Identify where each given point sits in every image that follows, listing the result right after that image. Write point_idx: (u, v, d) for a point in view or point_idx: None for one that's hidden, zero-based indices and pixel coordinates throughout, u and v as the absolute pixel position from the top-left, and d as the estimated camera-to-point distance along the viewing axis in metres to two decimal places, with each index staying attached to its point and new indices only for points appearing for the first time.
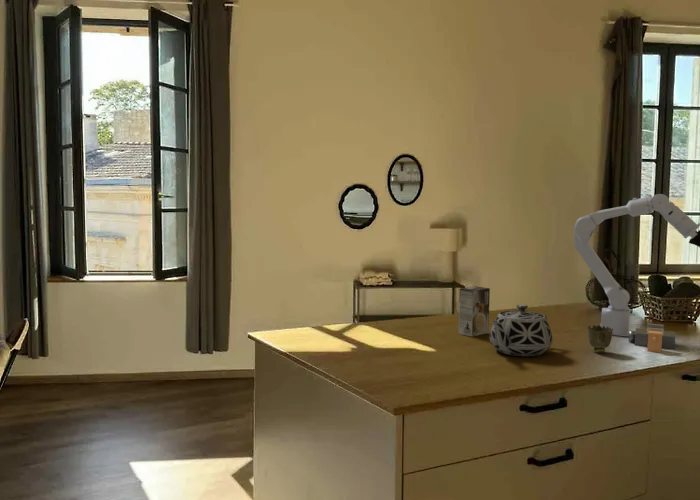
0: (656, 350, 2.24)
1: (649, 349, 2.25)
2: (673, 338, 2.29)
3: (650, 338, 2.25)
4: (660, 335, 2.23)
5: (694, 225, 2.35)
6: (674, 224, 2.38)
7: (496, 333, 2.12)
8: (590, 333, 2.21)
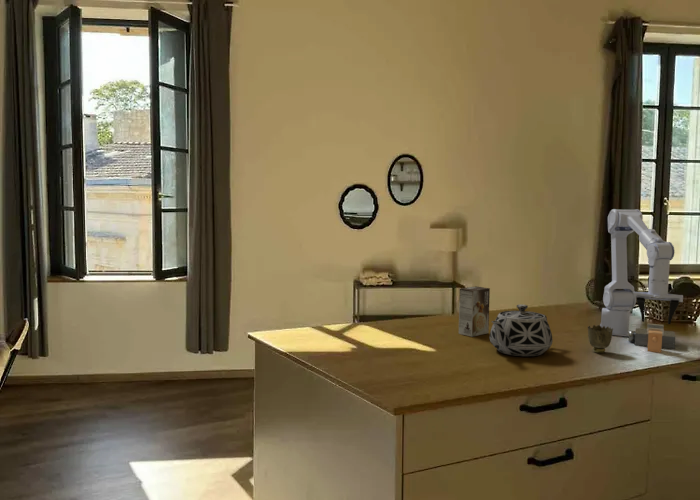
0: (656, 350, 2.24)
1: (649, 349, 2.25)
2: (673, 338, 2.29)
3: (650, 338, 2.25)
4: (660, 335, 2.23)
5: (651, 292, 2.23)
6: None
7: (496, 333, 2.12)
8: (590, 333, 2.21)
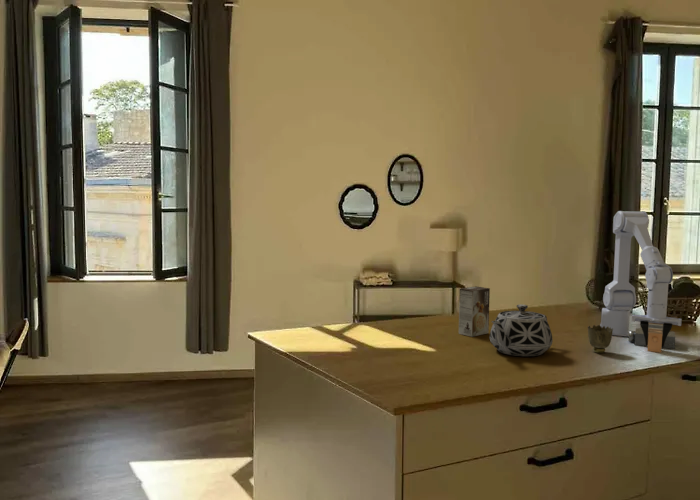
0: (656, 350, 2.24)
1: (649, 349, 2.25)
2: (673, 338, 2.29)
3: (650, 338, 2.25)
4: (660, 335, 2.23)
5: (650, 316, 2.24)
6: None
7: (496, 333, 2.12)
8: (590, 333, 2.21)
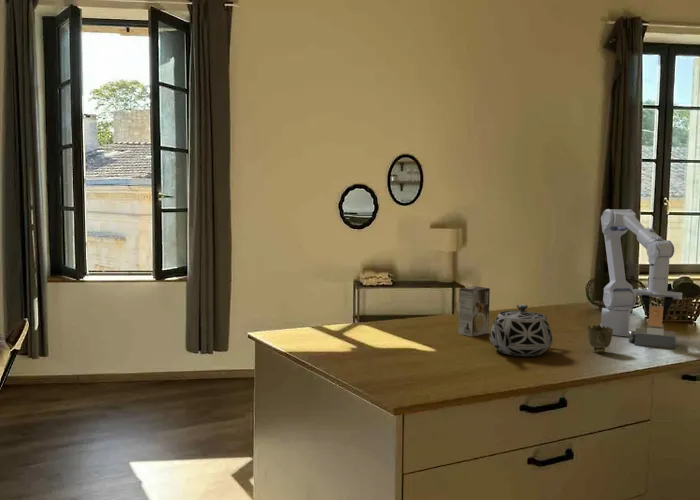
0: (657, 324, 2.28)
1: (650, 323, 2.29)
2: (673, 338, 2.29)
3: (651, 313, 2.28)
4: (661, 310, 2.27)
5: (651, 290, 2.28)
6: (649, 275, 2.30)
7: (496, 333, 2.12)
8: (590, 333, 2.21)
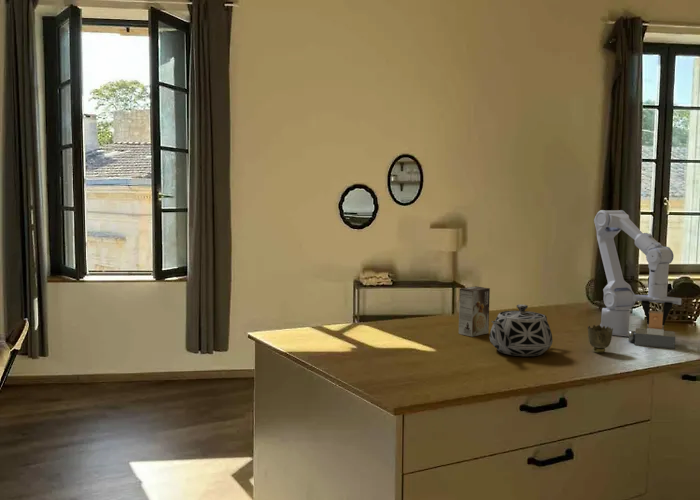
0: None
1: None
2: (673, 338, 2.29)
3: (651, 318, 2.32)
4: (661, 315, 2.31)
5: (651, 295, 2.32)
6: (649, 281, 2.34)
7: (496, 333, 2.12)
8: (590, 333, 2.21)
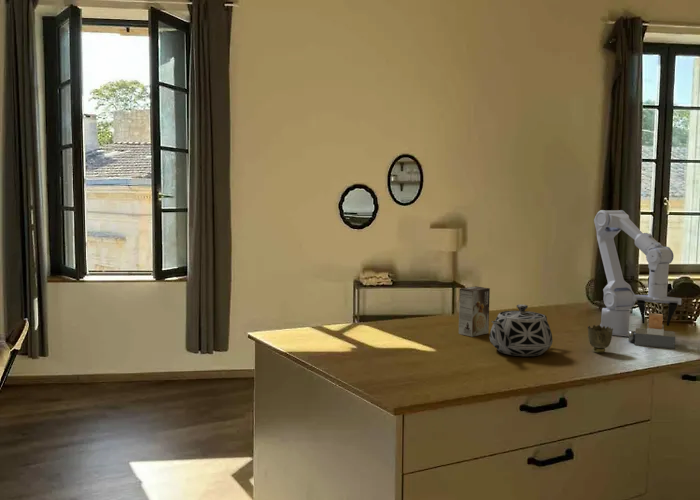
0: None
1: None
2: (673, 338, 2.29)
3: (651, 320, 2.33)
4: (660, 317, 2.31)
5: (651, 295, 2.32)
6: (649, 281, 2.34)
7: (496, 333, 2.12)
8: (590, 333, 2.21)
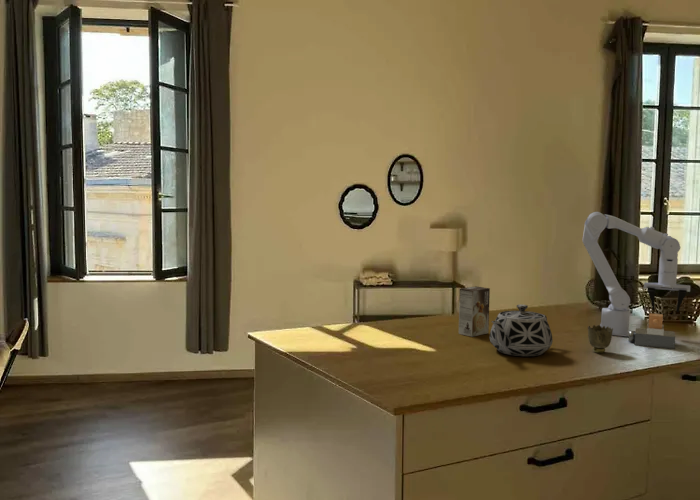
0: None
1: None
2: (673, 338, 2.29)
3: (651, 320, 2.33)
4: (660, 317, 2.31)
5: (661, 283, 2.43)
6: (662, 270, 2.42)
7: (496, 333, 2.12)
8: (590, 333, 2.21)
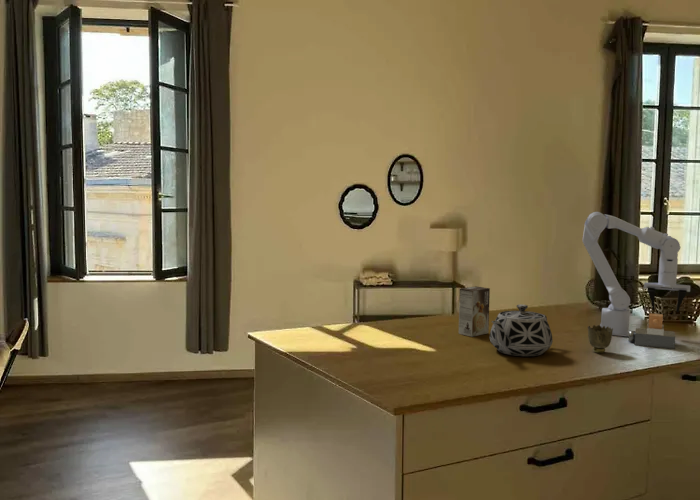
0: None
1: None
2: (673, 338, 2.29)
3: (651, 320, 2.33)
4: (660, 317, 2.31)
5: (661, 283, 2.43)
6: (662, 270, 2.42)
7: (496, 333, 2.12)
8: (590, 333, 2.21)
